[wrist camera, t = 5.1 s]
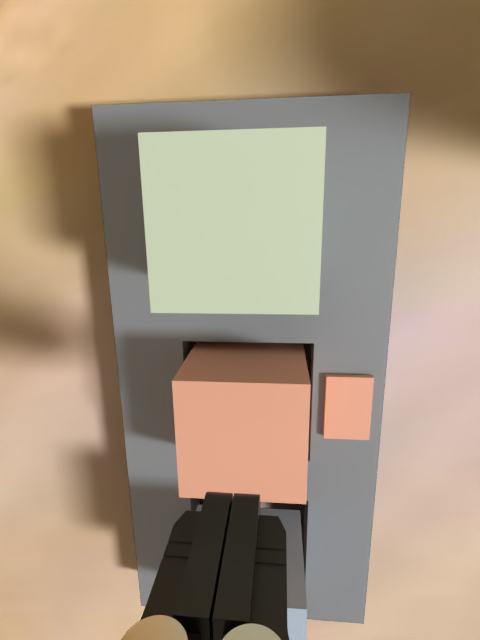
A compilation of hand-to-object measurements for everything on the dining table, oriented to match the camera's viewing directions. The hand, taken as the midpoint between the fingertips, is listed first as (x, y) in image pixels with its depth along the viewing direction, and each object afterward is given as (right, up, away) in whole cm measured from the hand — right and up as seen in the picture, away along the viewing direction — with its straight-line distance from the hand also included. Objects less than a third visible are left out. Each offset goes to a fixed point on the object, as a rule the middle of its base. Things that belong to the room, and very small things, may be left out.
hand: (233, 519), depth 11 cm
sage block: (0, +9, +5) cm, 11 cm away
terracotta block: (+1, +2, +9) cm, 9 cm away
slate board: (+1, +2, +9) cm, 9 cm away
